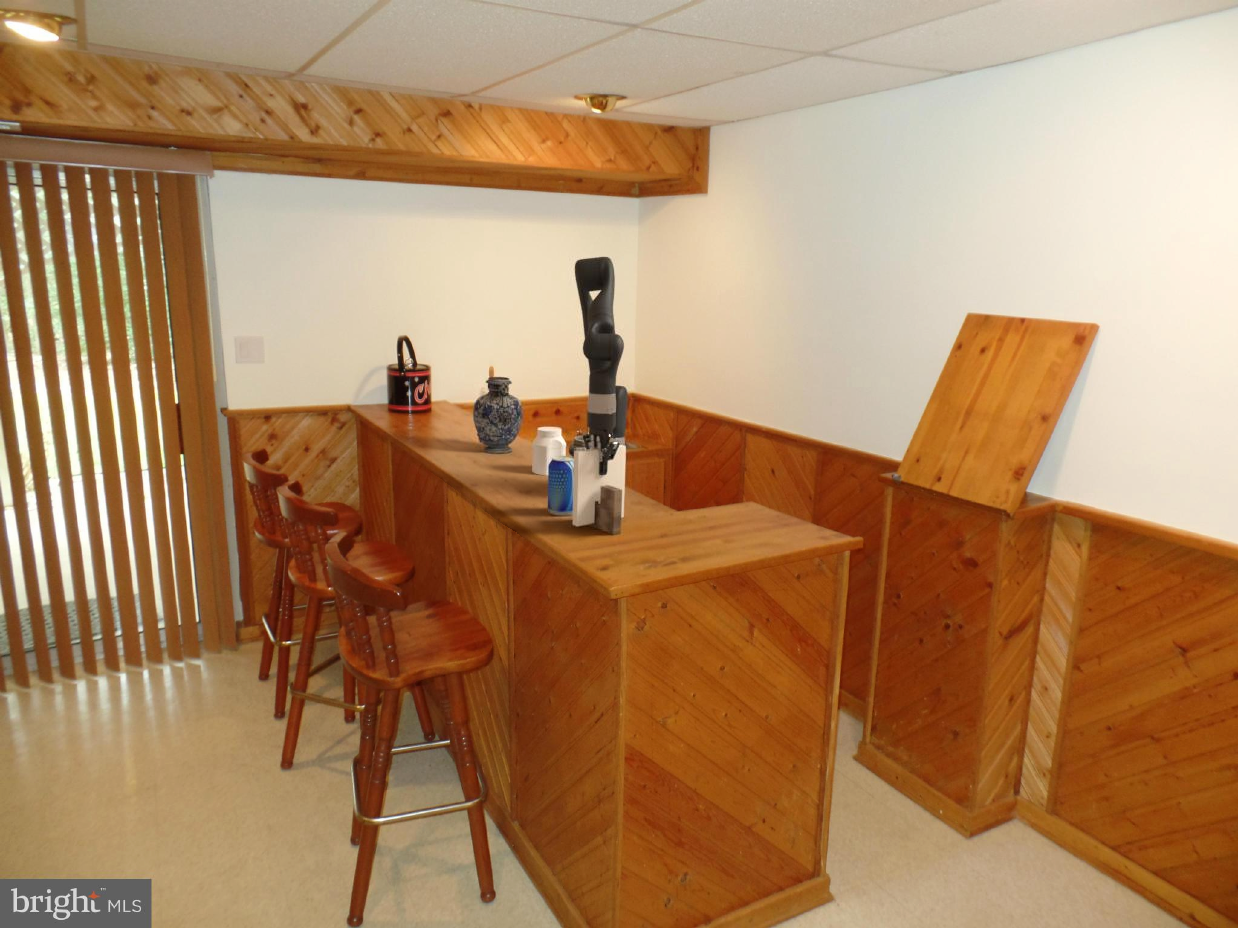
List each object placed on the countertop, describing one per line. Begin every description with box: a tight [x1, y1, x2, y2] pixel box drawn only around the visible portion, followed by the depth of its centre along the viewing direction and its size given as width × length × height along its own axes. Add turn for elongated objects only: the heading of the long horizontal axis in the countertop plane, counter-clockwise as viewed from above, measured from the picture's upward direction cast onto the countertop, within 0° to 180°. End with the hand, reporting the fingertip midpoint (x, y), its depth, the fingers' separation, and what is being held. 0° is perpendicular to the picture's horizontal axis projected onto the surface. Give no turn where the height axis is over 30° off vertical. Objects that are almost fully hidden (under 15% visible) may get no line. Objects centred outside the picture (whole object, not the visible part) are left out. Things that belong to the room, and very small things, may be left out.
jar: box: [531, 426, 567, 476], centre depth 290 cm, size 12×10×15 cm
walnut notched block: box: [587, 485, 622, 536], centre depth 229 cm, size 16×2×12 cm, turn 39°
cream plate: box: [572, 445, 627, 527], centre depth 228 cm, size 16×2×20 cm, turn 129°
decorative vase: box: [472, 376, 524, 455], centre depth 320 cm, size 21×19×28 cm
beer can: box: [547, 455, 574, 517], centre depth 242 cm, size 8×8×16 cm
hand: (599, 473), depth 227 cm, fingers closed on cream plate, 2 cm apart
